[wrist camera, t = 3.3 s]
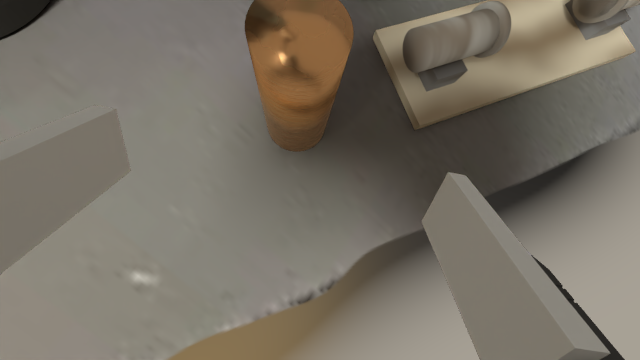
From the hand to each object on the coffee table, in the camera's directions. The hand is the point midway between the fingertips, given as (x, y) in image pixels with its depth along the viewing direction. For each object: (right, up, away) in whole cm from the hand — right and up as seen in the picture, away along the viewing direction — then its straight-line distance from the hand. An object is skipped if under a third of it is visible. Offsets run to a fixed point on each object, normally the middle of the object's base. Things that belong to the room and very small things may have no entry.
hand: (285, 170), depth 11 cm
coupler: (-1, +5, +12) cm, 13 cm away
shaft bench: (+20, +13, +16) cm, 29 cm away
